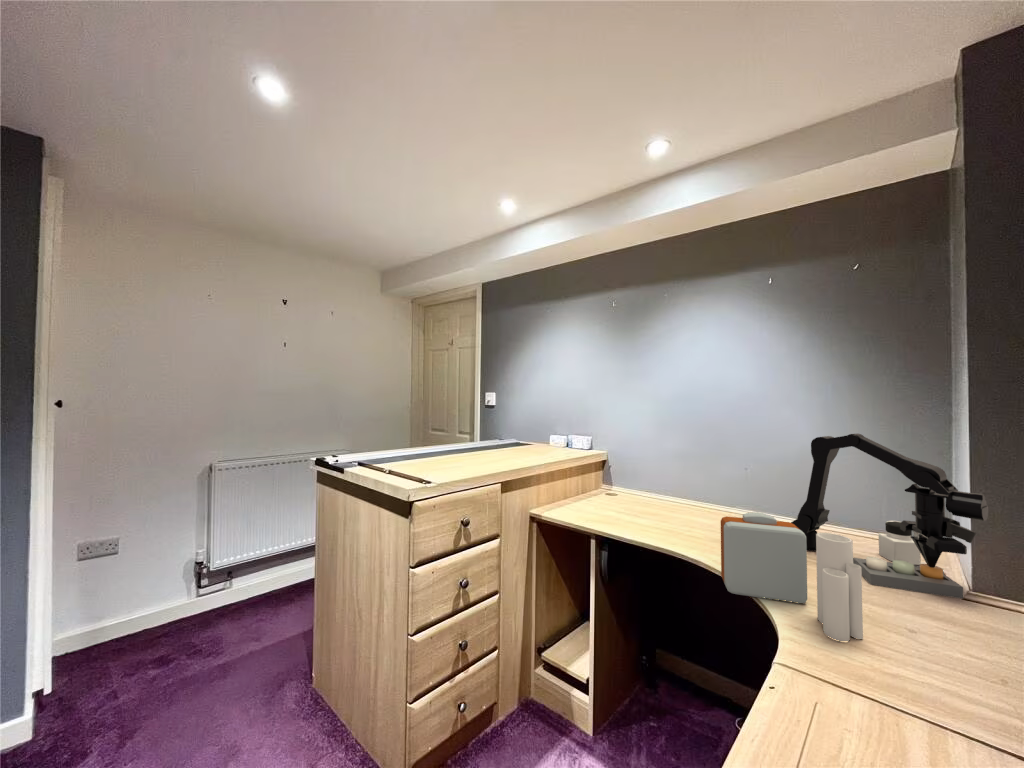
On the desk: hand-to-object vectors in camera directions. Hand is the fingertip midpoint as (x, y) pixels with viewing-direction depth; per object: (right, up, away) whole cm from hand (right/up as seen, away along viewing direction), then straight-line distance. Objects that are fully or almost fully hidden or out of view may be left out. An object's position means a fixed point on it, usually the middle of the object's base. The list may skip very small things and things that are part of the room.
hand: (931, 566), depth 109 cm
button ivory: (-11, -3, +5) cm, 12 cm away
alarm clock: (-50, -5, -4) cm, 50 cm away
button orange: (0, -3, 0) cm, 3 cm away
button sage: (-5, -3, +2) cm, 7 cm away
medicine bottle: (+8, -6, +17) cm, 20 cm away
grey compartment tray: (-5, -5, +2) cm, 8 cm away
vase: (-43, -5, -21) cm, 48 cm away
